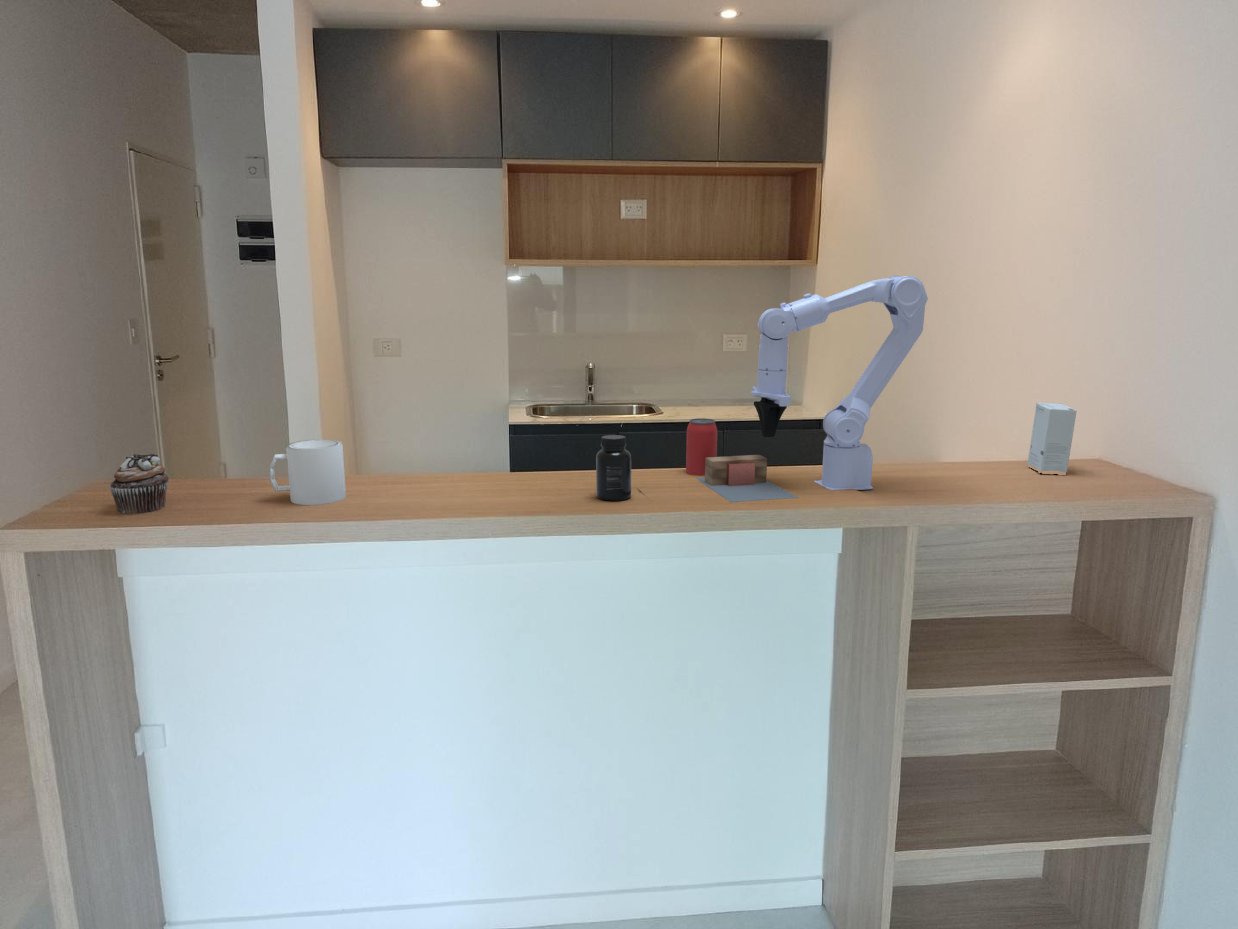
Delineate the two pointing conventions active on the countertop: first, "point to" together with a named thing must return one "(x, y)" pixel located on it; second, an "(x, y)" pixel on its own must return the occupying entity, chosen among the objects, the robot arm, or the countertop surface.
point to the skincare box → (1051, 437)
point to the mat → (750, 491)
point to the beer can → (700, 444)
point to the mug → (313, 472)
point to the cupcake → (140, 485)
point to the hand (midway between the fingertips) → (768, 436)
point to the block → (718, 465)
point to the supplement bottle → (613, 469)
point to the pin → (740, 473)
